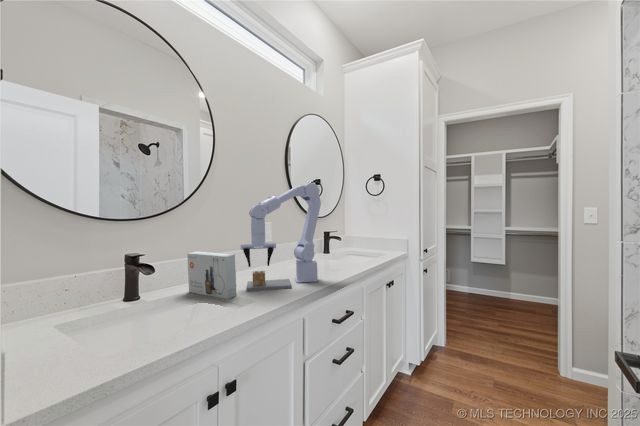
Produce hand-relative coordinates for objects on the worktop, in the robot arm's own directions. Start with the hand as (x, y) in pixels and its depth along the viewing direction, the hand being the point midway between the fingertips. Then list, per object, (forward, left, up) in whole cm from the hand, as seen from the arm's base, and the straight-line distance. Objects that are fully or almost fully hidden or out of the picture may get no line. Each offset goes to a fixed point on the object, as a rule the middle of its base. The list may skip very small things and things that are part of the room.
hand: (259, 266), depth 122 cm
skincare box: (+18, +6, -9) cm, 21 cm away
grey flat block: (-4, 0, -9) cm, 10 cm away
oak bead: (0, 0, -8) cm, 8 cm away
